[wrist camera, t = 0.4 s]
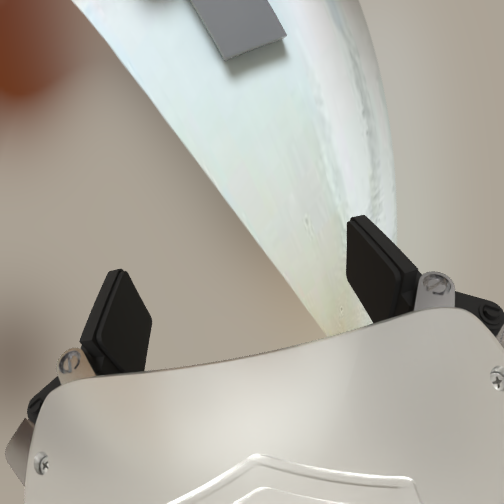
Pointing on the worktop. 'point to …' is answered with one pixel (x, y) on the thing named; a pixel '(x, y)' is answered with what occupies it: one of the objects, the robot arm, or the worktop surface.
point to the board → (239, 24)
